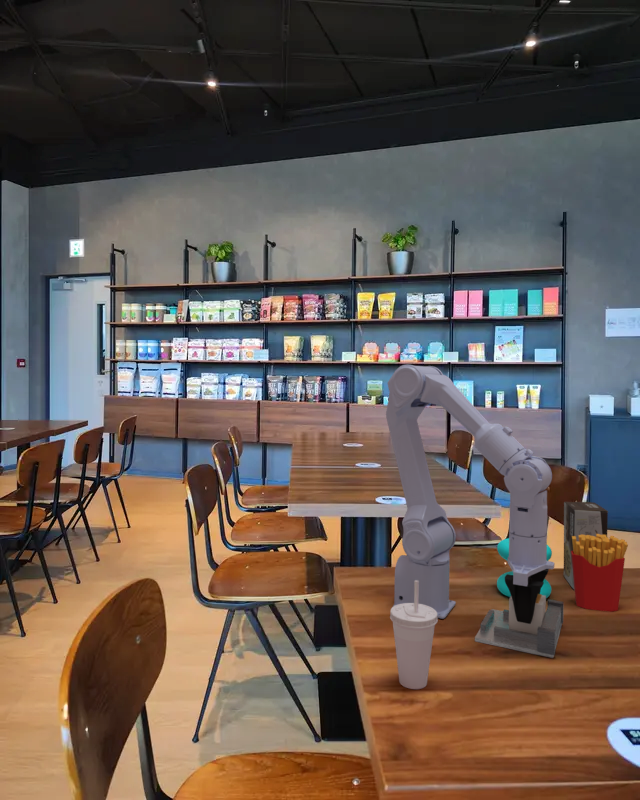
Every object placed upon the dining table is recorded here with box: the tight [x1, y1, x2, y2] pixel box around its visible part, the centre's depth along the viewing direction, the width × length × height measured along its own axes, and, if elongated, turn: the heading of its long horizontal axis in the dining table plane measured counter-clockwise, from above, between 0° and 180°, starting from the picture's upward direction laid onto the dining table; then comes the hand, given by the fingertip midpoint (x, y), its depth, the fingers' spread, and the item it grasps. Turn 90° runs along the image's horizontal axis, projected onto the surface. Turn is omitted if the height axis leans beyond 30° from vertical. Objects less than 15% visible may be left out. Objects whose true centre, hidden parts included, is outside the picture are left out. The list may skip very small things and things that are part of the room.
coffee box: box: [563, 501, 609, 590], centre depth 115 cm, size 9×6×16 cm
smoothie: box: [389, 580, 439, 690], centre depth 77 cm, size 6×6×14 cm
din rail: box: [474, 598, 565, 659], centre depth 92 cm, size 12×14×4 cm
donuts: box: [496, 537, 553, 599], centre depth 110 cm, size 10×10×10 cm
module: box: [508, 594, 547, 634], centre depth 91 cm, size 5×4×6 cm
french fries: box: [571, 534, 629, 613], centre depth 103 cm, size 9×4×13 cm, turn 73°
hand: (526, 616), depth 91 cm, fingers closed on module, 4 cm apart
